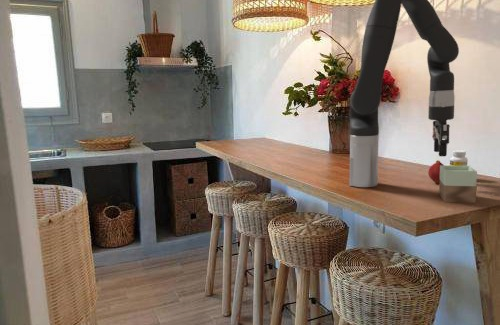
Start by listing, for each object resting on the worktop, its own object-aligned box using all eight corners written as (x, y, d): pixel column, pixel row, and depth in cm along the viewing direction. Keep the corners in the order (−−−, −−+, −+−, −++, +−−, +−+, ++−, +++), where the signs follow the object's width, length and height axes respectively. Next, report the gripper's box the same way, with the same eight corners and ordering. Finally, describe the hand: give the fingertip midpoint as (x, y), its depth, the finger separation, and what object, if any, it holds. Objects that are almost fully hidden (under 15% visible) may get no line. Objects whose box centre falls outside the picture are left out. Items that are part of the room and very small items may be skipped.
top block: (444, 185, 112) (445, 171, 111) (439, 179, 120) (440, 165, 119) (475, 186, 110) (476, 171, 109) (468, 179, 117) (469, 165, 117)
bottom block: (444, 202, 113) (445, 185, 112) (439, 194, 120) (439, 179, 120) (475, 203, 111) (476, 186, 110) (468, 195, 118) (469, 179, 117)
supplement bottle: (445, 178, 140) (447, 150, 138) (456, 176, 142) (458, 149, 140) (458, 181, 135) (460, 152, 133) (470, 179, 137) (471, 151, 135)
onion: (430, 180, 137) (431, 158, 136) (448, 182, 134) (450, 159, 132) (425, 184, 133) (426, 160, 131) (444, 186, 129) (445, 162, 128)
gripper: (425, 104, 136) (424, 150, 139) (432, 106, 122) (431, 157, 125) (449, 103, 134) (447, 150, 137) (459, 105, 120) (457, 157, 123)
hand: (440, 153), depth 131 cm, fingers open, 8 cm apart
